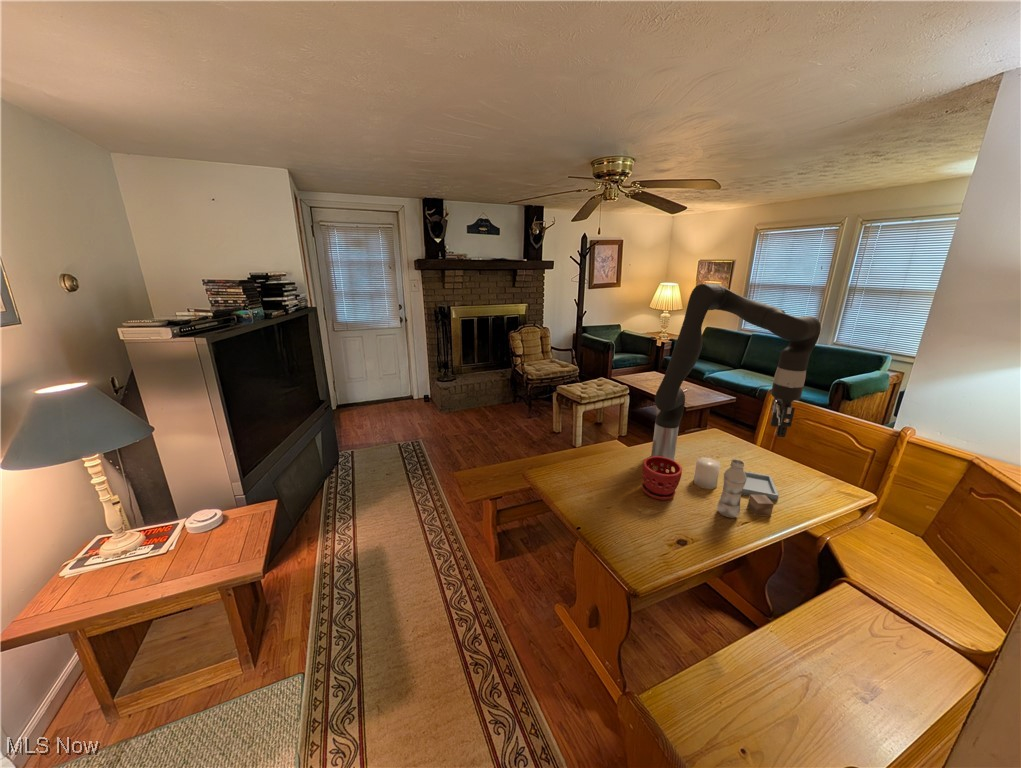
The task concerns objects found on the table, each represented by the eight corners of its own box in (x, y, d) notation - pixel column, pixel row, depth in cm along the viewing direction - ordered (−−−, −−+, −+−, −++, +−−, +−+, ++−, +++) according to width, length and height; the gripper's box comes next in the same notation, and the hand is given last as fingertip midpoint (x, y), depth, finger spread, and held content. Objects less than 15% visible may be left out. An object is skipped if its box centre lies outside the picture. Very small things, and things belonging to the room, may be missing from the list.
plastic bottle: (712, 508, 129) (721, 457, 123) (730, 507, 130) (741, 456, 124) (723, 521, 123) (734, 467, 117) (743, 519, 124) (754, 466, 117)
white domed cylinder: (693, 486, 142) (697, 465, 140) (693, 475, 149) (696, 455, 147) (717, 490, 139) (721, 469, 137) (715, 480, 146) (719, 459, 143)
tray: (732, 492, 138) (733, 486, 137) (728, 473, 150) (729, 468, 150) (777, 501, 133) (778, 495, 132) (769, 481, 145) (770, 475, 144)
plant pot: (634, 494, 138) (637, 465, 134) (649, 479, 147) (652, 452, 143) (669, 508, 130) (674, 478, 126) (683, 492, 139) (687, 463, 135)
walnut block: (755, 515, 125) (758, 503, 124) (747, 506, 130) (750, 494, 129) (770, 516, 125) (773, 503, 124) (762, 507, 130) (765, 494, 128)
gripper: (769, 375, 121) (759, 421, 126) (779, 388, 109) (767, 438, 114) (797, 377, 118) (786, 424, 123) (810, 391, 106) (797, 442, 111)
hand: (777, 431), depth 118 cm, fingers open, 8 cm apart
